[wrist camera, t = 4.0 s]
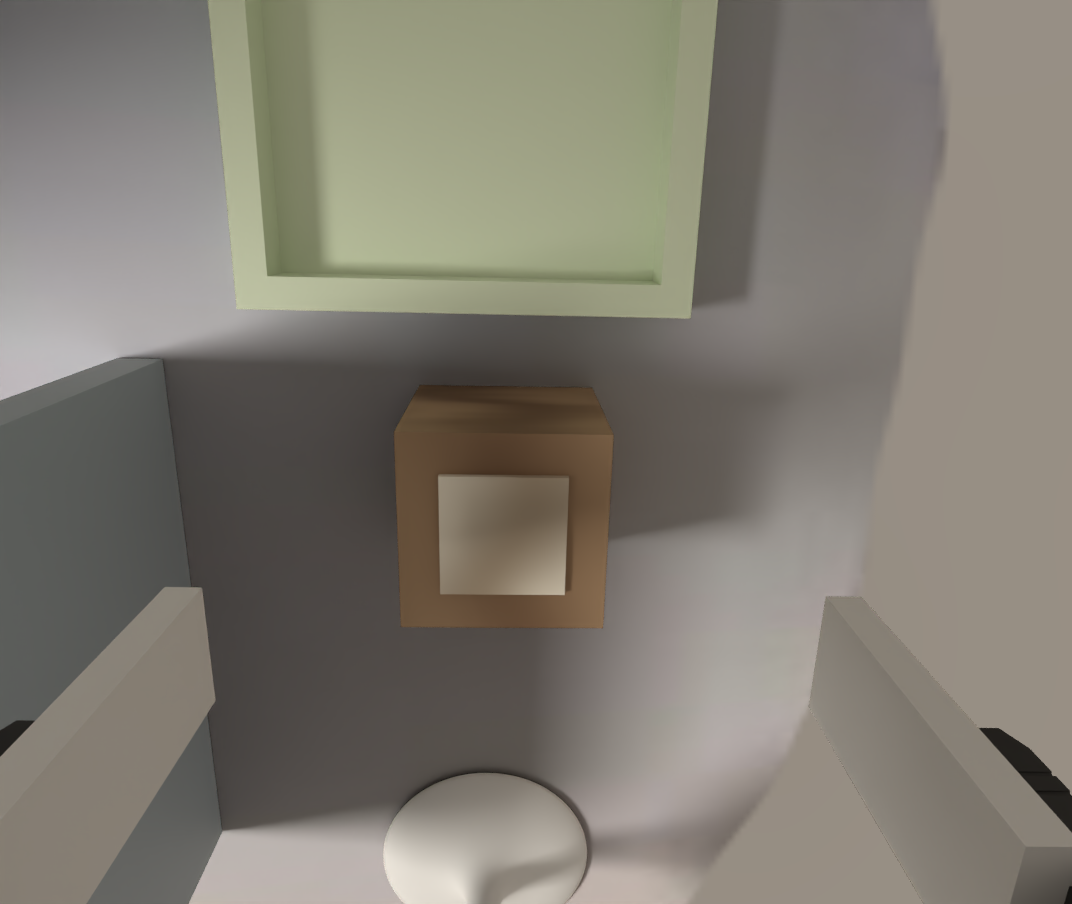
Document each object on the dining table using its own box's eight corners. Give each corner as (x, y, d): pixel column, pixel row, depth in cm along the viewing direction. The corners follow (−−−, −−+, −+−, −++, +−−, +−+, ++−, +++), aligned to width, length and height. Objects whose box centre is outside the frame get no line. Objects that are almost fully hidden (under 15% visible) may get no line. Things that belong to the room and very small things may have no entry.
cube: (423, 542, 28) (399, 630, 22) (419, 384, 26) (392, 433, 20) (584, 544, 28) (603, 631, 22) (591, 387, 26) (614, 436, 20)
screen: (222, 831, 31) (-52, 1412, 16) (185, 832, 31) (-123, 1415, 16) (162, 358, 25) (-363, 575, 10) (117, 357, 25) (-478, 574, 10)
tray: (259, 301, 25) (236, 309, 23) (215, -212, 21) (183, -258, 19) (676, 310, 25) (690, 318, 23) (716, -189, 21) (737, -231, 19)
